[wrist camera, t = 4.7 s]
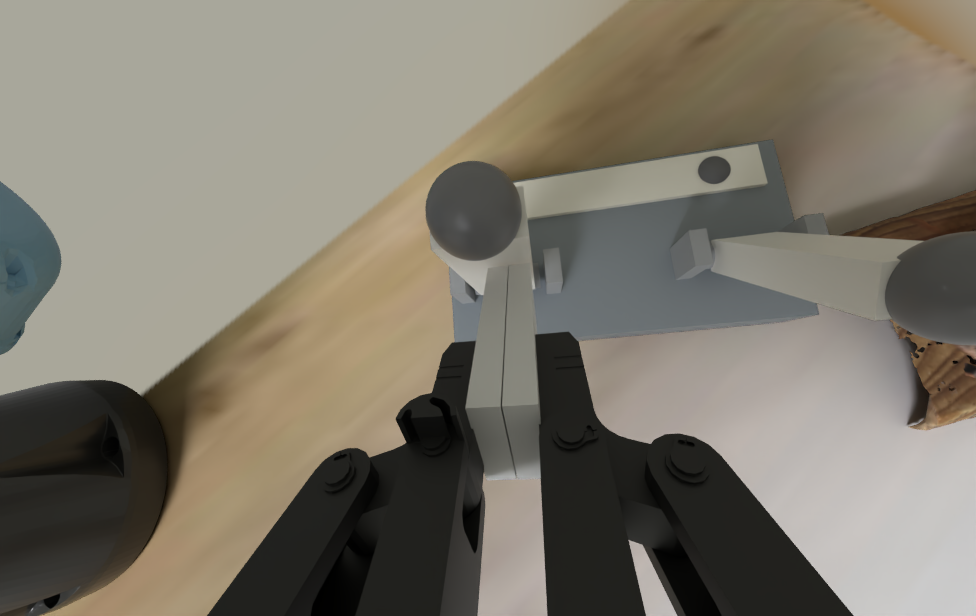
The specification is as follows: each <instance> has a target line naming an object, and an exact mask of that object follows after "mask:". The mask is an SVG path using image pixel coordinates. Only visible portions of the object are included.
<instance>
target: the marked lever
mask: <svg viewBox="0 0 976 616" xmlns="http://www.w3.org/2000/svg"><path fill="white" fill-rule="evenodd" d="M426 221H427V224H428V228H429V230H430V243H431V250H432V251H433V252H434V253H435V254H436V255H437V256H438V257H440V258H441V259H442V260H443V261H444V262H445V263H446V264H447V265H448V266H449V267H451V268H452V269H453V270H454V271H455V272H456V273H457V274H458V275H459V276H460V277H462V278H463V279H464V280H465V281H466V282H467V283H468V284H469V285H470V286H472V287H473V288H474V289H475V292H476V295H484V289H485V283H486V277H487V270H488V268H492V267H500V266H508V268H509V265H517V264H526V263H530V271H531V280H532V289H535V288H541V284H540V275H539V266H538V263H532V254H531V246H530V238H529V230H528V222H527V213H526V205H525V197H524V189H523V186H517V187H515V185H514V183H513V182H512V181H511V179H510V178H509V177H508V176H507V175H506V174H505V173H504V172H503V171H501V170H500V169H499V168H497V167H495V166H493V165H491V164H488V163H484V162H479V161H467V162H462V163H458V164H456V165H453V166H452V167H450V168H448V169H447V170H445V171H444V172H443V173H442V174H440V175H439V177H438V178H437V179H436V180H435V182H434V183H433V185H432V187H431V188H430V191H429V193H428V197H427V200H426Z"/></svg>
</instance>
